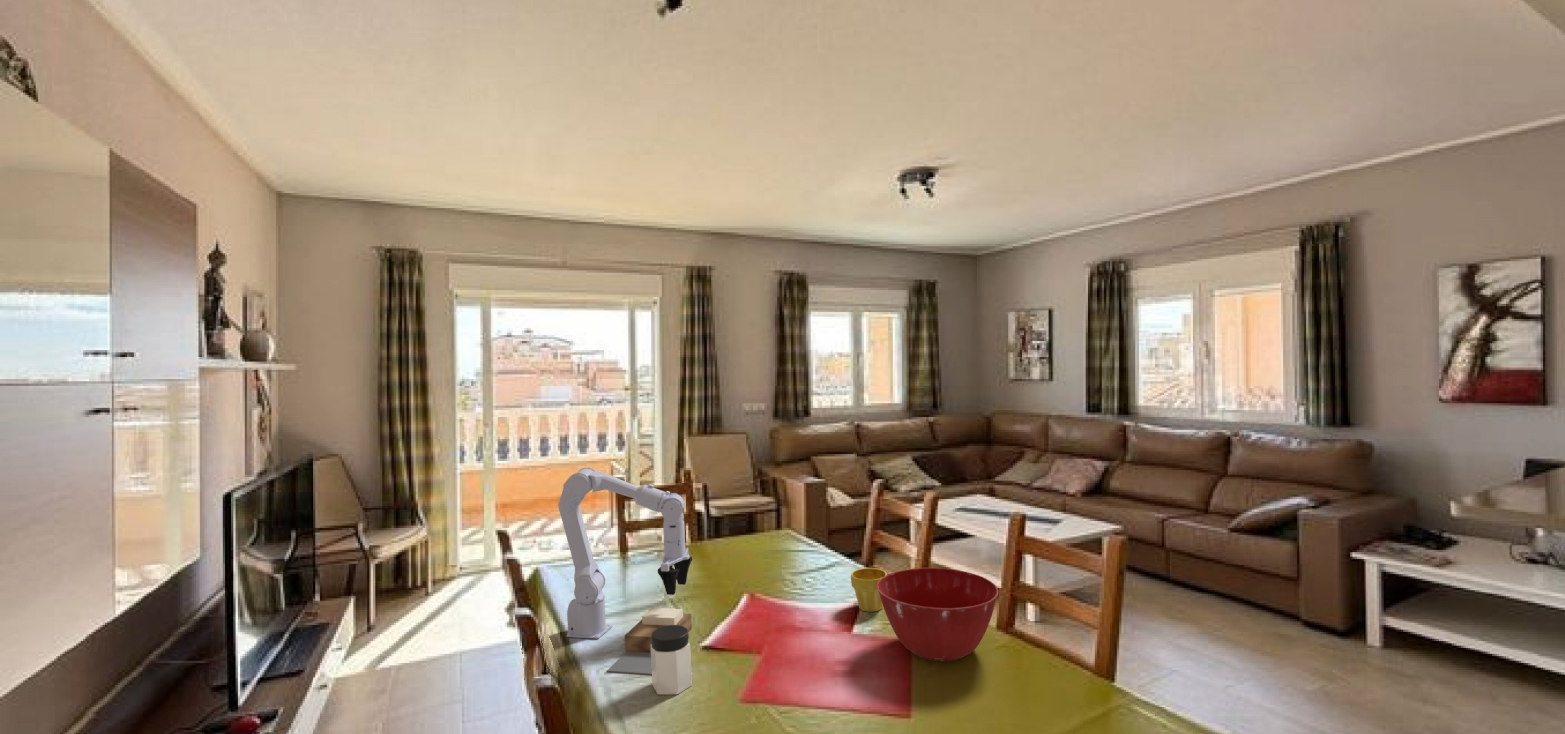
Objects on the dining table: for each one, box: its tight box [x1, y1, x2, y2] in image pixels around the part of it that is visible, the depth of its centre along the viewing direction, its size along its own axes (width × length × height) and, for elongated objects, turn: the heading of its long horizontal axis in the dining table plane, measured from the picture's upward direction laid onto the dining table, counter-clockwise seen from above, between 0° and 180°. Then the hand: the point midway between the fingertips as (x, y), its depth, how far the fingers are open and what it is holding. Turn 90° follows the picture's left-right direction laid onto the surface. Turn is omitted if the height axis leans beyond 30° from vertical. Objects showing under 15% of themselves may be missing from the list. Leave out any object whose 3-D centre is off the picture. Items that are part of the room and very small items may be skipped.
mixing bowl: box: [877, 567, 999, 662], centre depth 154 cm, size 28×28×16 cm
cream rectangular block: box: [641, 607, 684, 626], centre depth 168 cm, size 9×6×2 cm, turn 77°
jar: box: [650, 625, 693, 696], centre depth 142 cm, size 9×8×12 cm
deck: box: [624, 612, 693, 653], centre depth 166 cm, size 12×15×4 cm
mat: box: [606, 651, 652, 676], centre depth 153 cm, size 12×10×1 cm
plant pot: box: [850, 567, 888, 613], centre depth 181 cm, size 10×10×10 cm
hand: (676, 589), depth 174 cm, fingers open, 7 cm apart
